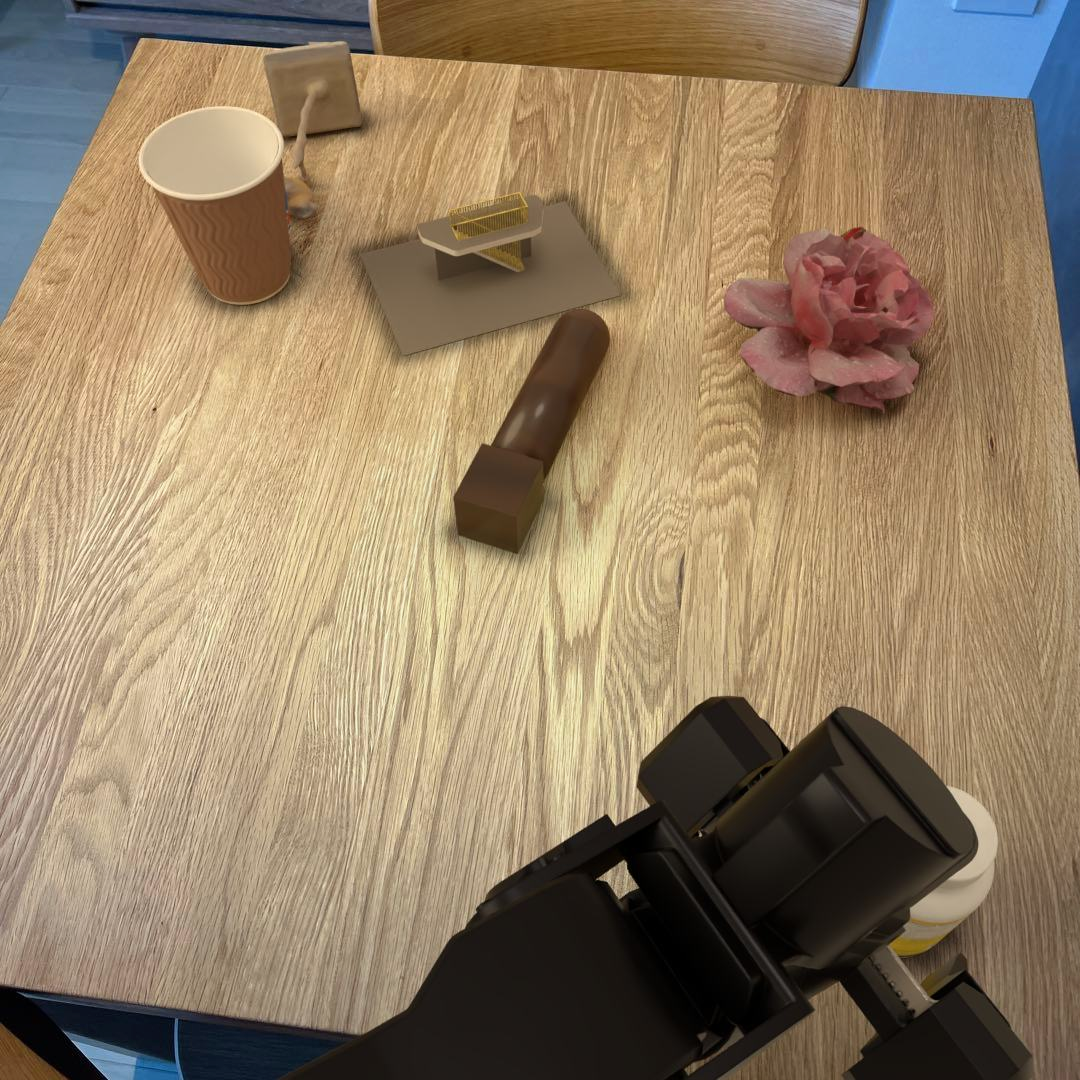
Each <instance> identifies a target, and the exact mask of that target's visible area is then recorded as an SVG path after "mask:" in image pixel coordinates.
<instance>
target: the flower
mask: <svg viewBox="0 0 1080 1080" xmlns="http://www.w3.org/2000/svg"><path fill="white" fill-rule="evenodd" d="M782 265H783V268H784V272H785V275H786V279H787V282H785V281H779V280H772V279H761V278H748V277H746V278H739V279H737V280H735V281H733V282H731V284H729V285H728V287H727V289H726V291H725V294H724V295H723V305H724V311H725V312H726V313H727V315H728V316H729V317H730V318H731V319H732V320H734V322H736V323H738V324H739V325H741V326H742V327H745V328H748V329H749V330H755V331H756V332H757V333H756V334H754V335H753V336H751V337H750V338H748V339H747V340H745V341H744V342H743V343H742V344H741V345H740V347H739V348H738V349H739V354H738V355H739V357H740V358H741V359H742V361H743V363H744V364H745V365H746V366H747V367H748V368H749V370H751V372H752V373H753V374H754V375H755V376H756V377H758V378H759V380H761V381H762V382H763V383H765V384H766V385H767V386H768V387H770V388H772V389H773V390H774V391H775V392H778V393H781V394H785V395H786V396H791V397H798V398H801V397H804V396H810V395H812V394H814V393H819V394H821V395H824V396H826V397H828V398H830V399H831V400H832V402H833V401H834V402H835V403H837V404H841V405H847V406H853V407H857V408H861V409H862V408H863V409H867V410H869V409H874V410H876V411H878V412H879V413H880V414H881V415H884V414H885V413H886V410H885V409H886V408H885V405H884V401H885V400H888V399H889V400H890V399H898V398H902V397H904V396H908V395H910V394H912V393H913V392H914V391H915V390H916V388H915V386H914V384H913V383H914V381H915V380H916V378H917V377H918V375H919V371H920V364H919V362H918V361H916V360H915V359H914V358H912V356H911V352H910V348H911V347H912V345H913V343H914V342H916V341H919V340H920V339H921V338H922V337H924V336H925V335H926V334H927V332H928V331H929V329H930V327H931V326H932V323H933V320H934V318H935V314H936V313H937V311H936V310H935V309H934V304H933V303H932V300H931V297H930V294H929V292H927V291H926V290H925V288H923V286H922V284H921V281H920V280H919V279H918V278H916V277H914V276H913V275H912V274H911V270H910V266H909V265H908V263H907V262H906V260H905V258H904V257H903V256H902V253H899V252H898V251H896V250H894V248H893V246H892V245H891V243H890V242H888V241H887V240H886V239H885V238H882V237H880V236H878V235H876V234H874V233H873V232H871V231H870V230H867V229H865V228H864V227H863V226H857V227H856V226H855V227H852V228H849V229H848V230H847V231H845V232H844V233H842V234H841V235H837V234H834V233H833V232H832V231H830V229H828V228H827V227H824V228H821V229H816V230H810V231H807V232H804V233H799V234H797V235H796V236H794V237H792V238H790V239H789V242H788V243H787V245H786V248H785V252H784V256H783V260H782Z"/></svg>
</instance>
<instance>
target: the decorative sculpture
mask: <svg viewBox="0 0 1080 1080" xmlns="http://www.w3.org/2000/svg"><path fill="white" fill-rule="evenodd" d="M307 42H308V44H305V45H297V46H291V47H283V48H281V49H277V50H272V51H270V52H268V53H264V56H263V65H264V71H265V75H266V79H267V84H268V88H269V93H270V97H271V101H272V105H273V109H274V110H273V111H274V114H275V118H276V122H277V127H278V129H279V130H280V132H281V134H282V136H283V138H284V137H285V138H287V137H294V136H296V140H295V143H294V145H293V146H292V168H293V169H294V170H296V169H299V173H300V179H299V178H297V177H293V176H292V177H291V176H290V177H289V176H284V183H285V189H286V197H287V204H288V212H289V216H294V217H295V218H296V219H298V220H308V219H310V218H313V217H315V216H316V215H317V213H318V210H319V206H318V204H317V203H315V202H314V192H313V190H312V188H311V187H309V181H310V176H309V175H308V174H307V169H306V167H305V163H304V161H305V147H306V145H307V144H308V139H307V135H310V134H316V133H317V134H319V133H326V132H330V131H339V130H344V129H349V128H358V127H361V126H362V124H363V117H362V112H361V105H360V99H359V93H358V86H357V82H356V78H355V77H356V75H355V71H354V70H355V69H354V65H353V61H352V60H353V59H352V54H351V49H350V47H349V44H348V42H346V41H332V42H331V41H330V42H329V41H322V42H321V41H307Z"/></svg>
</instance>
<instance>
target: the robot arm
mask: <svg viewBox="0 0 1080 1080" xmlns="http://www.w3.org/2000/svg"><path fill="white" fill-rule="evenodd" d="M946 786H947V785H946V784H945V783H944V781H943V780H942V779H941V777H940V776H939V774H937V772H936V771H935V770H934V769H933V768H932V766H930V765H929V763H928V762H927V761H926V760H925V759H924V758H923V757H922V756H921V755H920V754H919V753H918V752H917V751H916V749H914V748H913V747H912V746H911V745H910V744H909V743H907V742H906V740H904V739H903V738H902V737H901V736H899V735H898V733H897V732H895V731H893V730H892V729H890V728H889V727H888V726H886V725H885V724H884V723H882V721H880V720H879V719H876V718H875V717H873V716H872V715H870V714H868V712H867V713H866V712H864V711H862V710H860V709H857V708H855V707H851V706H845V705H841V706H838V707H836V708H835V709H834V710H833V711H831V712H830V713H828V715H827V716H826V717H825V718H824V719H823V720H821V722H819V723H818V724H817V725H816V726H815V727H814V728H813V729H812V730H811V731H810V732H809V733H808V734H807V735H806V736H804V738H802V739H801V740H799V741H798V743H797V744H796V745H795V746H794V747H793V748H792V749H791V750H790V748H788V746H787V745H786V744H785V743H784V741H783V740H782V739H781V737H780V736H779V735H778V734H777V733H776V731H774V729H773V728H772V726H770V724H769V723H768V722H767V721H766V720H765V719H764V718H762V717H761V716H760V715H759V714H758V712H756V710H755V708H754V707H752V705H751V703H750V702H749V701H748V700H747V699H746V698H745V697H744V696H739V695H718V696H710V697H708V698H706V699H705V700H704V701H702V702H700V703H699V704H697V705H695V706H694V707H693V708H692V709H691V710H690V711H689V712H688V713H687V715H685V716H684V718H682V720H680V721H679V722H678V723H677V725H676V726H674V728H673V729H672V730H671V731H670V732H669V733H668V734H667V735H666V736H665V737H664V738H663V739H661V741H660V742H659V743H658V744H657V745H656V746H655V747H654V748H653V749H652V750H650V752H649V753H648V754H647V755H646V756H645V757H644V758H642V760H640V763H639V768H638V773H637V781H636V786H635V787H636V789H637V790H638V792H639V793H640V795H642V797H643V799H644V800H645V801H646V803H647V804H648V807H646V808H644V809H643V810H641V811H639V812H638V813H636V814H634V815H632V816H630V817H628V818H626V819H625V820H623V821H621V822H620V823H618V824H616V825H615V823H614V822H613V820H612V818H611V817H610V816H609V814H608V813H605V814H604V815H603V816H601V817H598V818H597V819H596V820H595V821H593V822H591V823H590V824H588V825H587V826H585V827H584V828H582V829H580V830H579V831H577V832H576V833H574V834H573V835H571V836H570V837H568V838H566V839H565V840H563V841H562V842H560V843H558V844H557V845H556V846H553V847H552V848H551V849H549V850H548V851H545V852H544V853H543V854H541V855H540V856H538V857H537V858H535V859H534V860H532V861H531V862H529V863H527V864H526V865H525V866H523V867H521V868H519V869H518V870H516V871H515V872H514V873H512V874H510V875H509V876H507V877H506V878H504V879H503V880H501V881H500V882H498V883H497V884H495V885H494V886H493V887H492V888H491V889H489V890H488V892H487V893H486V895H485V898H484V901H483V902H480V903H479V904H478V905H477V907H476V908H475V911H476V912H475V913H474V914H473V916H472V917H470V919H469V920H468V922H467V923H466V925H465V927H464V928H463V929H462V930H460V931H457V932H456V933H454V935H452V936H451V937H450V939H448V941H447V942H446V944H445V945H444V947H443V948H442V950H441V952H440V954H439V955H438V957H437V959H436V961H435V962H434V964H433V966H432V967H431V968H430V970H429V972H428V974H427V976H426V977H425V978H424V980H423V982H422V984H421V985H420V987H419V989H418V990H417V992H416V994H415V995H414V997H413V998H412V1000H411V1002H410V1004H409V1005H408V1007H407V1008H406V1009H405V1010H403V1011H401V1012H399V1013H398V1014H396V1015H394V1016H392V1017H391V1018H389V1019H387V1020H385V1021H384V1022H382V1023H380V1024H379V1025H377V1026H375V1027H373V1028H371V1029H370V1030H368V1031H366V1032H365V1033H363V1034H361V1035H359V1036H357V1037H355V1038H353V1039H351V1040H349V1041H347V1042H345V1043H344V1044H342V1045H340V1046H338V1047H336V1048H334V1049H332V1050H330V1051H328V1052H327V1053H324V1054H322V1055H321V1056H319V1057H316V1058H315V1059H313V1060H311V1061H309V1062H307V1063H304V1064H303V1065H301V1066H300V1067H297V1068H296V1069H294V1070H292V1071H290V1072H288V1073H286V1074H284V1075H282V1076H281V1077H278V1078H276V1080H728V1079H730V1078H731V1077H732V1076H733V1075H734V1074H736V1073H737V1072H739V1071H740V1070H741V1069H743V1068H744V1067H745V1066H747V1065H748V1064H749V1063H751V1062H752V1061H753V1060H755V1059H756V1058H757V1057H759V1056H760V1055H761V1054H763V1053H764V1052H765V1051H767V1050H768V1049H769V1048H771V1047H772V1046H773V1045H775V1044H776V1043H777V1042H778V1041H779V1040H781V1039H782V1038H784V1036H785V1035H787V1034H789V1032H791V1031H792V1030H793V1029H795V1028H796V1027H797V1026H798V1025H800V1024H801V1023H802V1022H803V1021H805V1020H806V1019H807V1018H808V1017H810V1016H811V1015H812V1014H813V1013H814V1012H815V1011H816V1009H815V1007H814V1006H813V1005H812V1002H810V999H812V998H814V997H815V996H818V995H819V994H821V993H823V992H824V991H826V990H827V989H829V988H830V987H833V986H834V985H836V984H837V983H840V985H841V986H842V987H843V989H844V990H845V992H846V993H847V994H848V996H849V997H850V999H852V1001H853V1002H854V1003H855V1005H856V1006H857V1008H858V1009H859V1011H860V1012H861V1014H863V1016H864V1017H865V1019H866V1020H867V1021H868V1022H869V1024H870V1025H871V1026H872V1028H873V1029H874V1030H875V1033H874V1034H873V1035H872V1037H871V1038H869V1040H868V1041H867V1042H865V1045H863V1046H862V1047H861V1048H860V1050H859V1052H860V1054H861V1056H862V1057H863V1058H861V1059H860V1060H859V1061H857V1062H856V1063H854V1064H853V1065H852V1066H851V1067H850V1068H847V1070H846V1071H844V1072H843V1073H841V1077H842V1078H843V1080H1032V1078H1033V1059H1034V1058H1033V1054H1032V1053H1031V1052H1030V1050H1029V1049H1028V1048H1027V1047H1026V1046H1025V1044H1024V1043H1023V1042H1022V1040H1021V1039H1020V1038H1019V1037H1018V1036H1017V1034H1016V1033H1015V1031H1013V1029H1012V1027H1011V1024H1010V1022H1009V1021H1008V1020H1007V1017H1005V1016H1004V1015H1003V1013H1002V1012H1001V1011H1000V1009H999V1008H998V1006H996V1004H995V1003H994V1002H993V1001H992V999H991V998H990V997H989V996H988V995H987V993H986V992H985V991H984V990H983V988H982V987H981V986H980V985H979V983H978V982H977V981H976V980H975V979H974V977H973V976H972V975H971V973H970V972H969V966H968V965H969V964H968V959H967V957H966V956H965V955H964V954H963V953H962V952H958V953H956V954H954V956H953V957H950V958H949V959H948V960H947V961H946V962H945V963H944V964H942V965H941V966H940V967H938V968H937V969H936V970H934V971H933V972H932V973H930V974H929V975H928V976H927V977H926V978H924V979H923V981H922V982H921V983H919V981H918V979H917V978H916V977H915V976H914V974H912V972H911V971H910V969H909V968H908V967H907V966H906V965H905V963H904V962H903V960H902V958H899V957H898V955H897V954H896V953H895V952H894V950H893V949H892V948H891V946H890V945H889V944H890V943H892V942H893V941H894V940H895V939H897V938H898V937H899V936H900V935H902V934H903V933H904V932H905V931H906V930H905V928H904V927H903V926H904V925H905V924H906V923H907V922H909V920H910V917H911V915H910V908H911V907H913V906H914V905H915V904H917V903H918V902H919V901H920V900H922V899H923V898H924V897H926V896H927V895H928V894H929V893H931V892H932V891H933V890H935V889H936V888H937V887H939V886H940V885H941V884H942V883H944V882H945V881H946V880H948V879H949V878H950V877H952V876H953V875H954V874H955V873H957V872H958V871H960V870H961V869H963V868H964V867H965V866H966V865H968V864H969V863H970V862H971V861H972V860H973V859H974V857H975V856H976V854H977V851H978V837H977V834H976V831H975V829H974V826H973V824H972V823H971V821H970V820H969V818H968V817H967V816H966V815H965V813H964V812H963V811H962V809H961V807H960V806H959V804H958V803H957V801H956V800H955V798H954V796H953V795H952V793H951V792H950V791H949V789H948V788H947V787H946ZM700 834H701V835H700ZM623 861H624V862H625V864H626V870H627V872H628V874H629V875H630V877H631V879H632V880H633V881H634V883H635V884H636V886H637V888H635V889H633V890H630V891H628V892H627V893H625V894H624V895H623V896H622V897H620V898H619V897H618V895H617V893H615V891H614V890H613V888H612V886H611V885H610V883H609V882H608V881H606V880H602V879H600V878H601V877H602V876H604V875H605V874H607V873H609V871H611V870H612V869H613V868H615V867H616V866H618V865H619V864H621V863H622V862H623ZM879 966H880V967H879ZM886 975H887V976H886ZM893 984H894V985H893ZM900 993H901V994H900ZM719 1052H720V1053H719ZM715 1054H717V1055H715ZM714 1055H715V1056H714ZM713 1056H714V1057H713ZM710 1057H712V1058H711V1059H710V1060H708V1061H706V1062H705V1063H704V1064H702V1065H701V1066H699V1067H698V1068H697V1069H695V1070H694V1071H692V1072H691V1073H690V1074H688V1072H687V1071H686V1069H687V1068H689V1067H690V1066H691V1065H693V1064H694V1063H698V1062H701V1061H705V1060H707V1059H708V1058H710Z"/></svg>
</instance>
